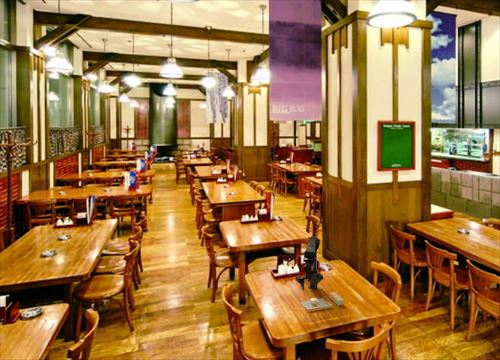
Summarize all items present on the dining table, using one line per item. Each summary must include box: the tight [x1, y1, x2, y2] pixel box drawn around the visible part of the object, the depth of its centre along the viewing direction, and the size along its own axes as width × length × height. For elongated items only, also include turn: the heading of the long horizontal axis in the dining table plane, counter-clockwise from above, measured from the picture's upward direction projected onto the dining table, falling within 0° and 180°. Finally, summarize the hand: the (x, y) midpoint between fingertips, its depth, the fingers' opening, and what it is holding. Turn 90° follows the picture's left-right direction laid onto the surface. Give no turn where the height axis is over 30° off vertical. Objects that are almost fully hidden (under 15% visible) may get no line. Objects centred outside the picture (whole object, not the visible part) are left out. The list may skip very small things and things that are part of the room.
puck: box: [309, 297, 319, 305], centre depth 245 cm, size 5×5×2 cm
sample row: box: [329, 291, 344, 307], centre depth 248 cm, size 11×5×5 cm, turn 18°
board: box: [299, 297, 333, 313], centre depth 243 cm, size 13×18×3 cm
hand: (309, 289), depth 244 cm, fingers open, 9 cm apart
